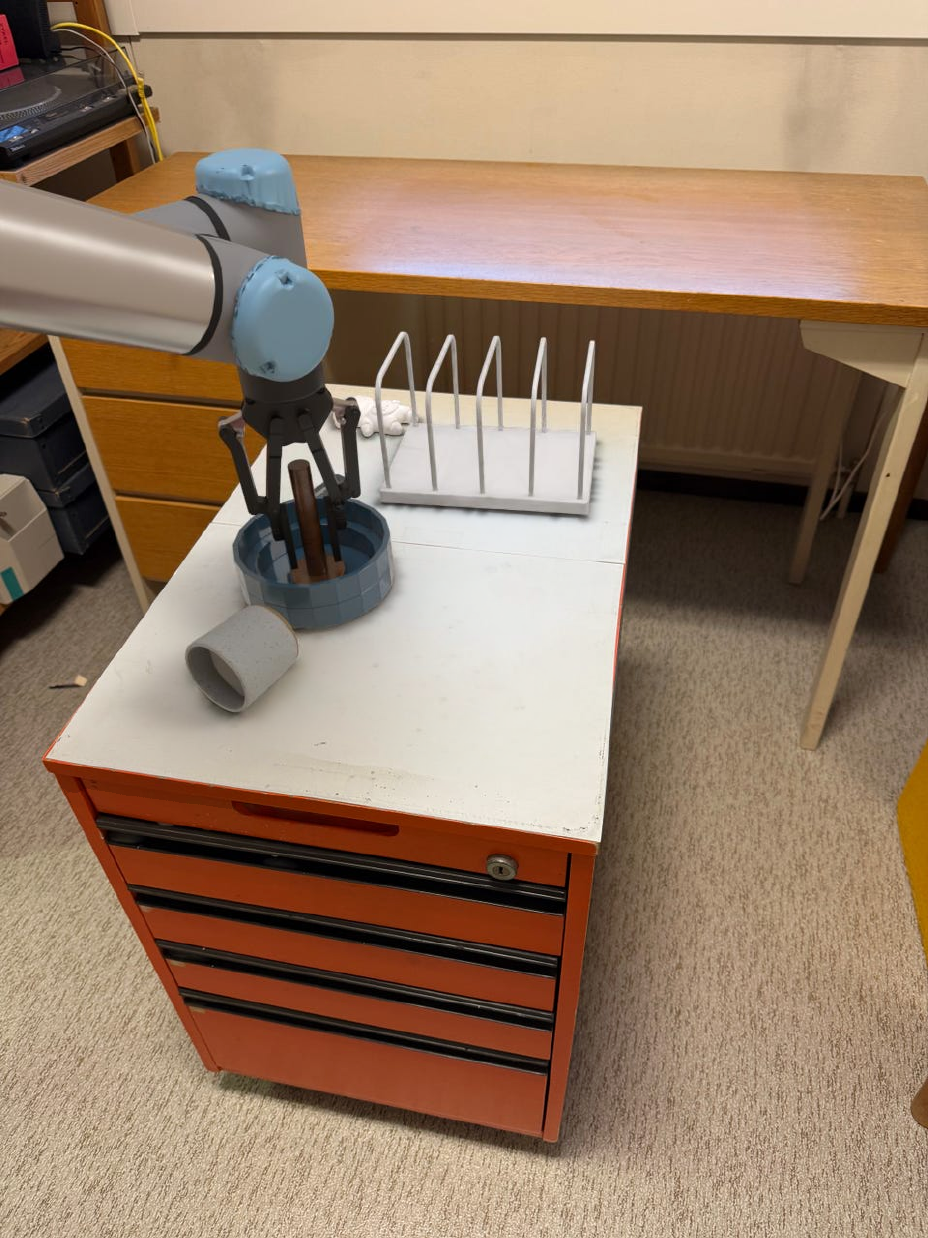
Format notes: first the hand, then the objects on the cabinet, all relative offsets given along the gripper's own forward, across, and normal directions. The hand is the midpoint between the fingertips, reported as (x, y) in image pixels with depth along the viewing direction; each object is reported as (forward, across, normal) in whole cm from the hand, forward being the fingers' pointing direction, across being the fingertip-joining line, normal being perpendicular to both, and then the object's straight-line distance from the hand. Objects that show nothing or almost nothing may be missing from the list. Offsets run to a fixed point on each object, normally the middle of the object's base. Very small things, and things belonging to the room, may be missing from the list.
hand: (315, 557), depth 93 cm
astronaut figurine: (+4, -12, -34) cm, 36 cm away
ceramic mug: (+4, +9, +13) cm, 16 cm away
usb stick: (+4, -2, -16) cm, 17 cm away
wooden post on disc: (+3, 0, 0) cm, 3 cm away
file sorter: (+4, -24, -16) cm, 29 cm away
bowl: (+4, 0, 0) cm, 4 cm away
